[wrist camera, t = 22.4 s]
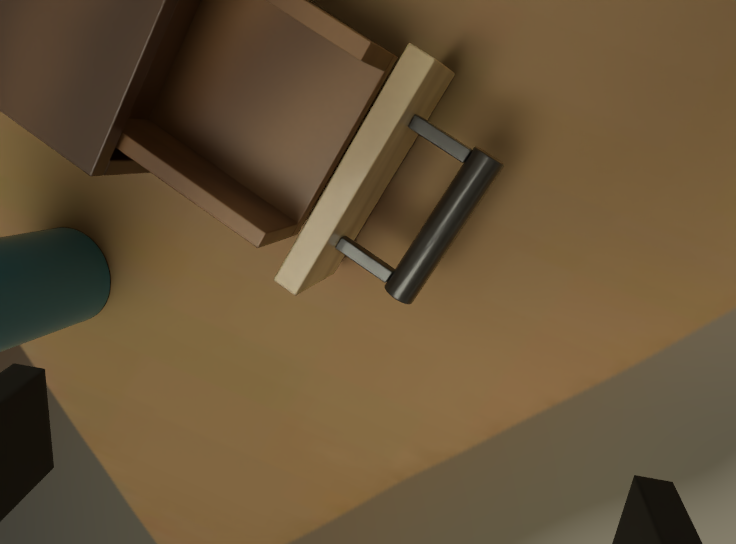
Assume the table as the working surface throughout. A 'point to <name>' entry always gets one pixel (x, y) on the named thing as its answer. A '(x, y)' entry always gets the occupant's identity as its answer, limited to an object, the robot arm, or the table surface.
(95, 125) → the cabinet
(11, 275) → the dark teal cylinder
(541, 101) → the table surface
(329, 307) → the table surface
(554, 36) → the table surface
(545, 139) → the table surface
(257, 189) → the drawer
